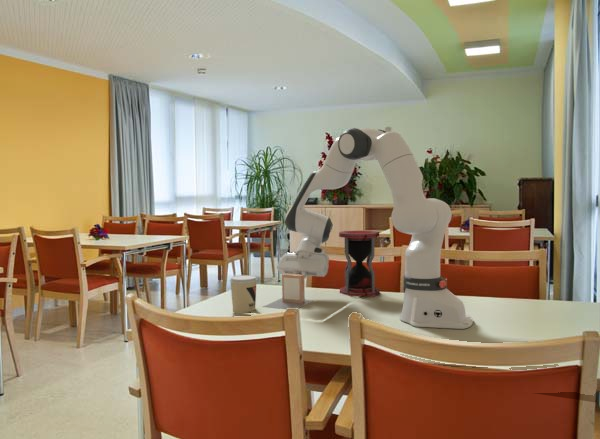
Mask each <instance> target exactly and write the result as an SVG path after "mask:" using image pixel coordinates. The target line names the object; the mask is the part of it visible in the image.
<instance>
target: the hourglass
mask: <svg viewBox="0 0 600 439" xmlns="http://www.w3.org/2000/svg"><path fill="white" fill-rule="evenodd" d="M338 237H339V238H344V254H345V255H344V256H345V258H346V260H347V264H346V265H345V269H344V286H343V287H341V288H339V294H342V295H345V296H354V297H359V298H372V297H376V296H378V295H380V294H381V293H380V288H378V287H375V285H376V284H375V283H376V282H375V271H374V269H373V265H372V263H373V262H372V261H373V260H374V257H375V238H379V237H380V232H379V231H376V230H344V231H339V232H338ZM351 258H352V259H353V261H354V262H355V265H353V263H352V259H351ZM365 260H366V266H367V267H368V268H367V267H366V266H365V264H363V262H364V261H365ZM352 265H353V266H352Z"/></svg>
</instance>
